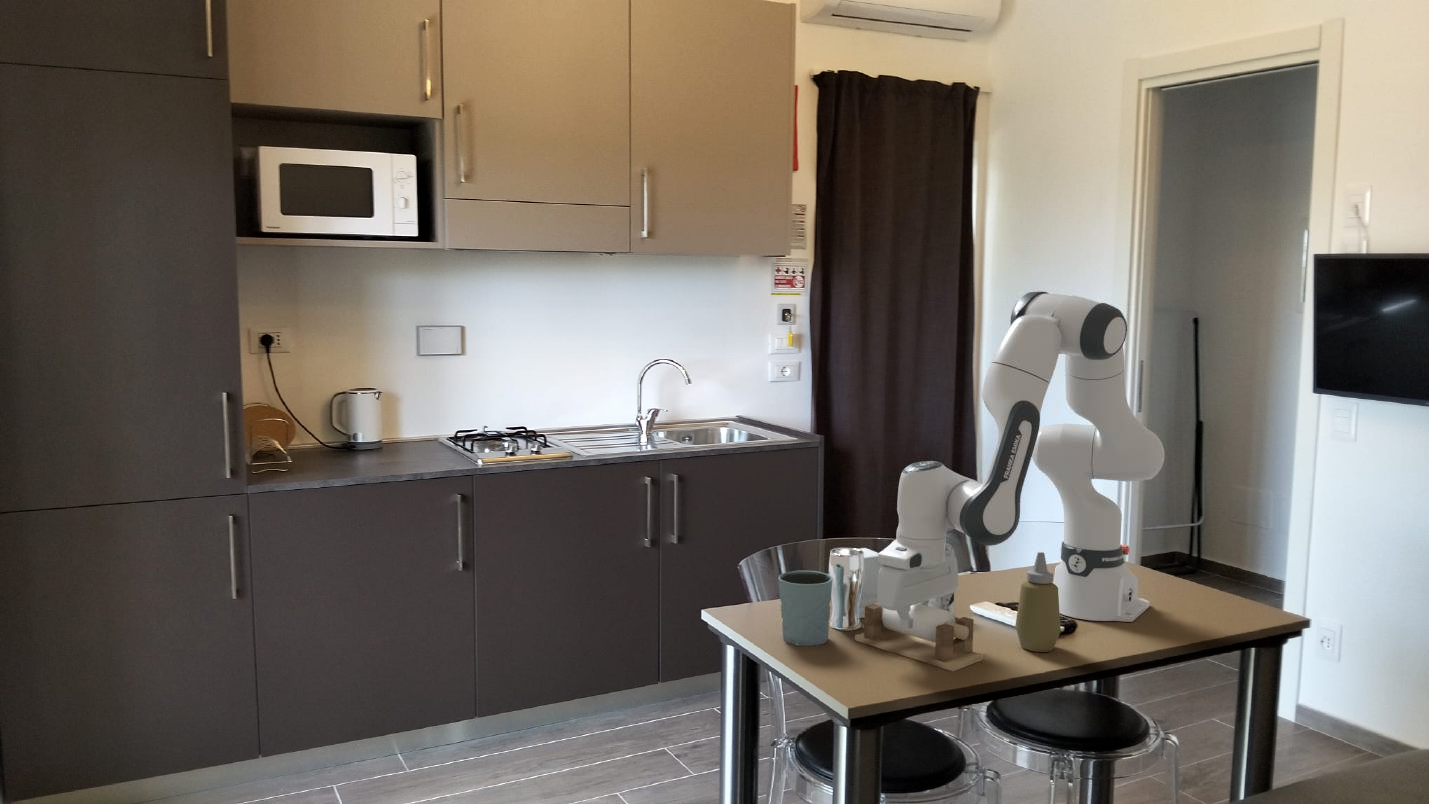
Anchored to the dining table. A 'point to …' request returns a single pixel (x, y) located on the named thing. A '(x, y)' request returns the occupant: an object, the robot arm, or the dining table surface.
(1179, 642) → the dining table surface
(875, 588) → the supplement box
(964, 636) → the paper roll
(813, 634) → the embossed teal cup
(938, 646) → the roll holder
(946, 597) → the mug
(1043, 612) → the squeeze bottle
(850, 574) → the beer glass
